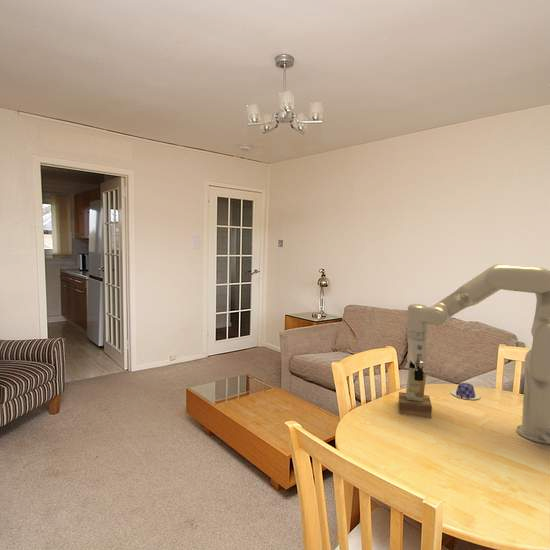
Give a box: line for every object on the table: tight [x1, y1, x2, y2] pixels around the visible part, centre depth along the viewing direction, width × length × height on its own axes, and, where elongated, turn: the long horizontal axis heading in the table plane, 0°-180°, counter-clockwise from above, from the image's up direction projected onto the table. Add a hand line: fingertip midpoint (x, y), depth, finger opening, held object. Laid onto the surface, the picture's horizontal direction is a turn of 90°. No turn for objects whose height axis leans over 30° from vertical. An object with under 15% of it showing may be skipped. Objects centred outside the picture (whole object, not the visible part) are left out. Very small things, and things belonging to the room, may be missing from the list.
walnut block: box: [398, 391, 433, 419], centre depth 154 cm, size 12×12×5 cm
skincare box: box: [405, 367, 427, 402], centre depth 153 cm, size 6×4×12 cm
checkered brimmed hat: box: [450, 382, 481, 400], centre depth 171 cm, size 12×12×5 cm
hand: (415, 376), depth 153 cm, fingers open, 9 cm apart
